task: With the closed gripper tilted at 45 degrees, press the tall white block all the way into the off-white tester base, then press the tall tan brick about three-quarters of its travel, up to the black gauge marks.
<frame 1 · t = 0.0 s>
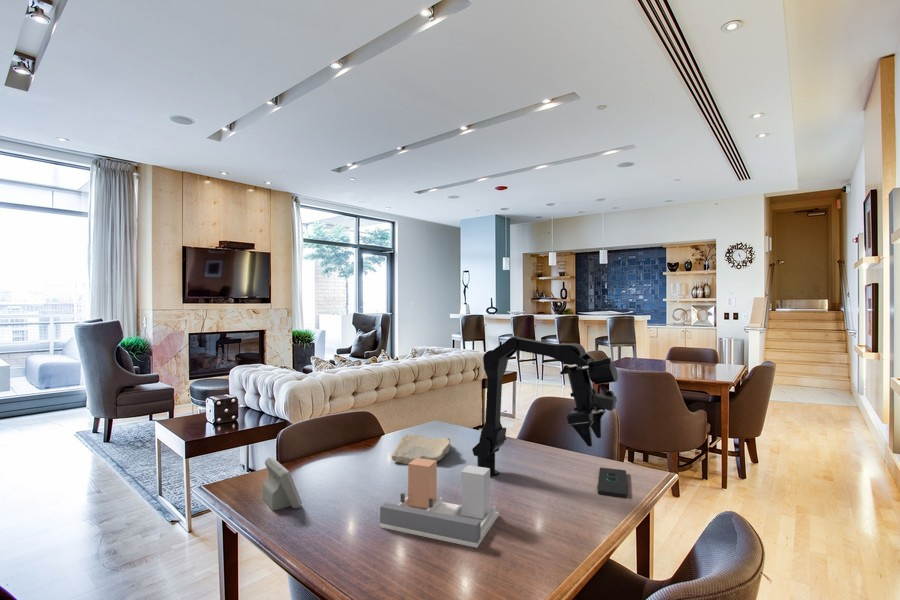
hand: (594, 442, 135), 15 cm above the table, fingers open, 9 cm apart
tall tan brick: (422, 482, 127), point 7 cm above the table, slide at 0.0 cm
tall white block: (475, 491, 121), point 7 cm above the table, slide at 0.0 cm
tester base: (438, 524, 118), on the table
digital clock: (282, 502, 131), on the table
beige rock: (425, 455, 172), on the table
smart home device: (612, 485, 144), on the table
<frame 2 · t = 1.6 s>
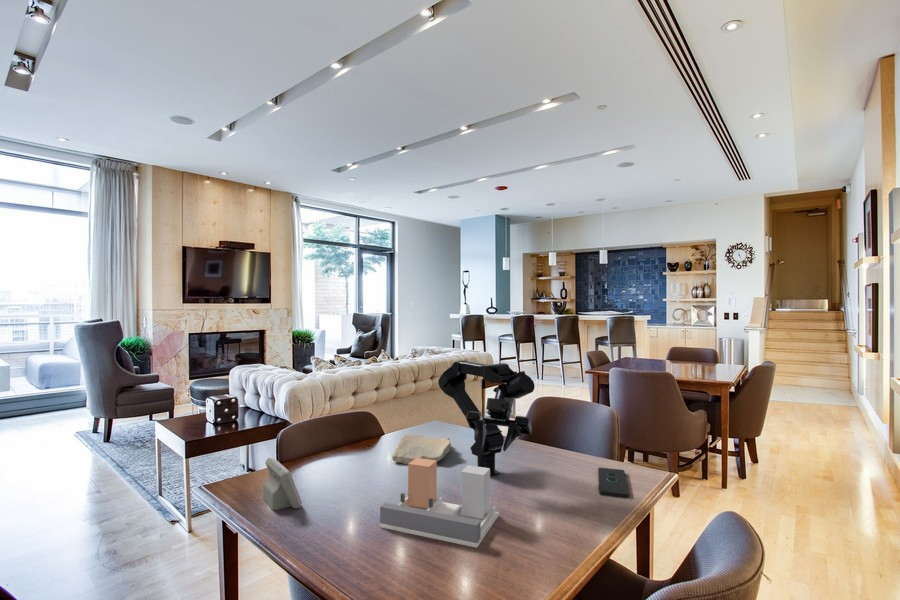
hand: (492, 449, 134), 14 cm above the table, fingers open, 6 cm apart
nothing on the table moved.
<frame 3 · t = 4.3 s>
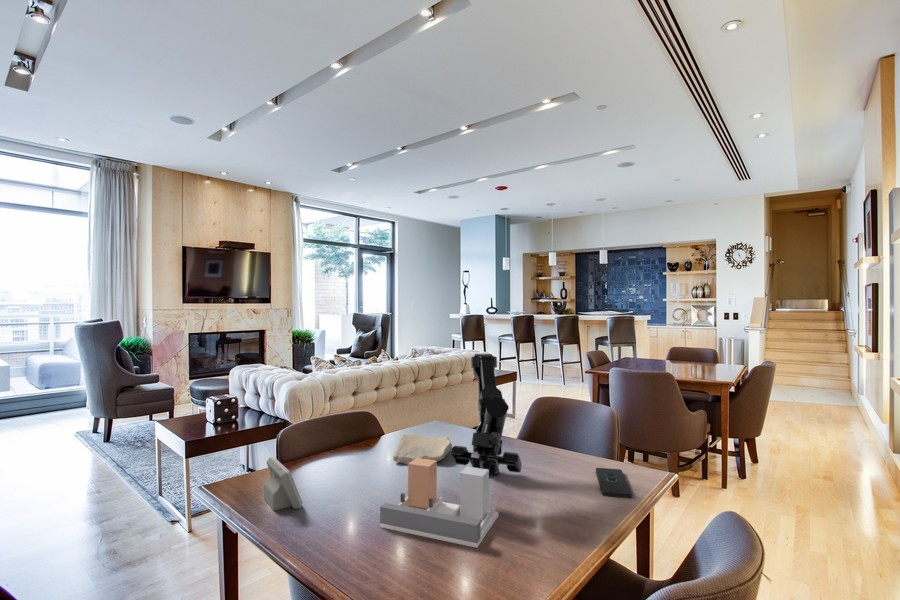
hand: (478, 489, 123), 7 cm above the table, fingers closed, pressing on tall white block
tall white block: (474, 493, 120), point 7 cm above the table, slide at 1.0 cm, touching gripper
everything else where it was.
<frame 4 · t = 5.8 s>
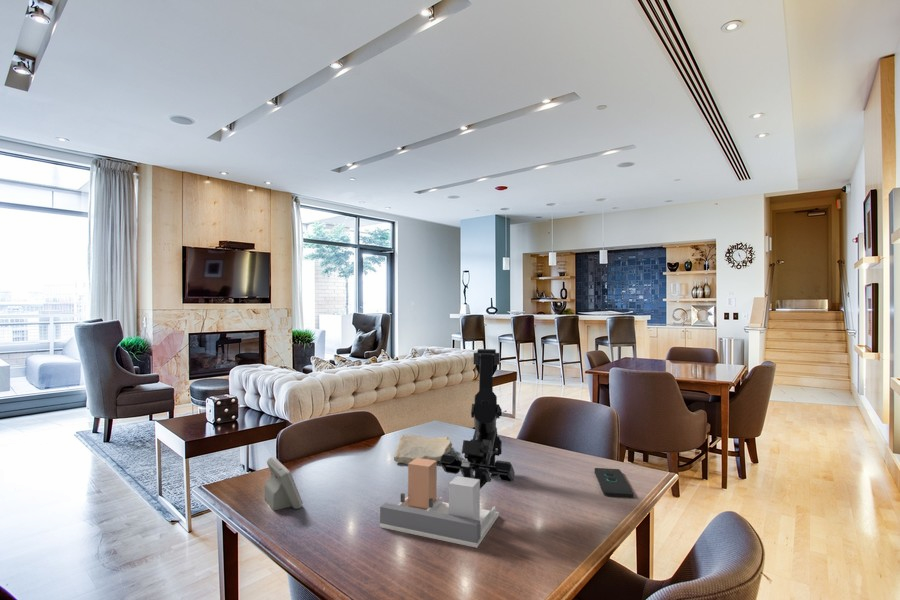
hand: (468, 500, 116), 7 cm above the table, fingers closed, pressing on tall white block
tall white block: (464, 504, 114), point 7 cm above the table, slide at 8.2 cm, touching gripper
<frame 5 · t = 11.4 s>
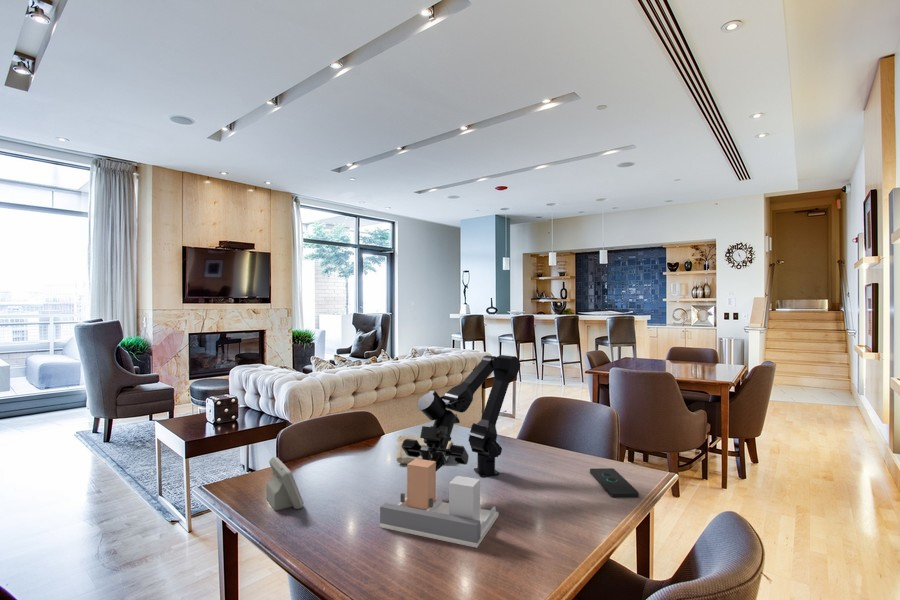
hand: (425, 479, 129), 7 cm above the table, fingers closed, pressing on tall tan brick
tall tan brick: (421, 483, 126), point 7 cm above the table, slide at 0.6 cm, touching gripper
tall white block: (464, 504, 114), point 7 cm above the table, slide at 8.0 cm
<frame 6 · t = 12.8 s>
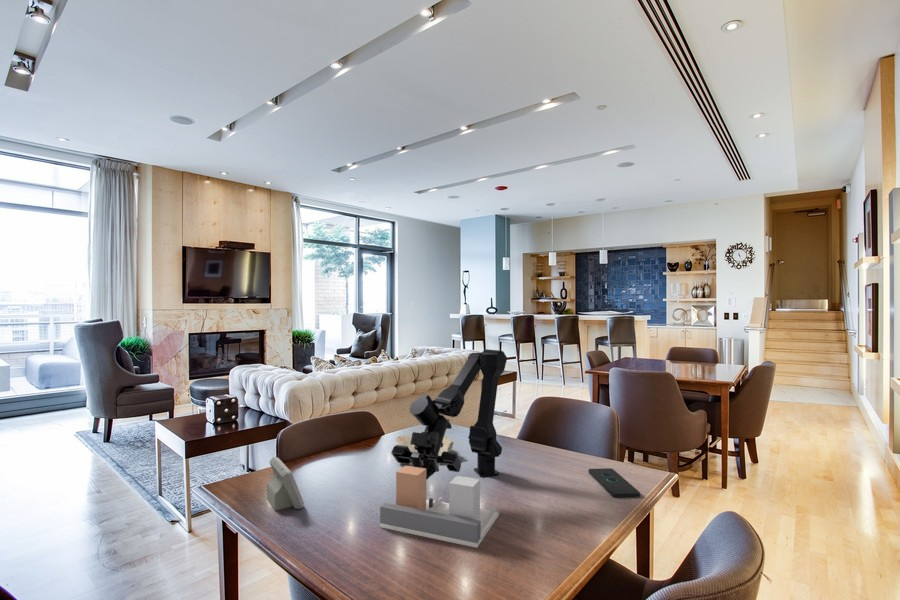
hand: (416, 488, 123), 7 cm above the table, fingers closed, pressing on tall tan brick
tall tan brick: (411, 491, 121), point 7 cm above the table, slide at 6.5 cm, touching gripper
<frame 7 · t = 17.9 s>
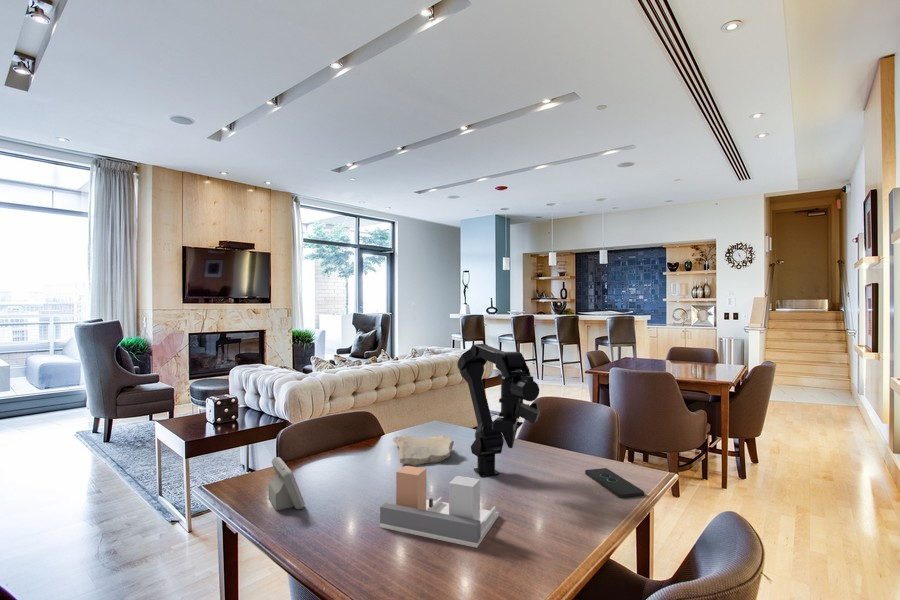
hand: (510, 447, 140), 12 cm above the table, fingers closed
tall tan brick: (411, 491, 121), point 7 cm above the table, slide at 6.5 cm
at the end: tall white block slide at 8.0 cm; tall tan brick slide at 6.5 cm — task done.
